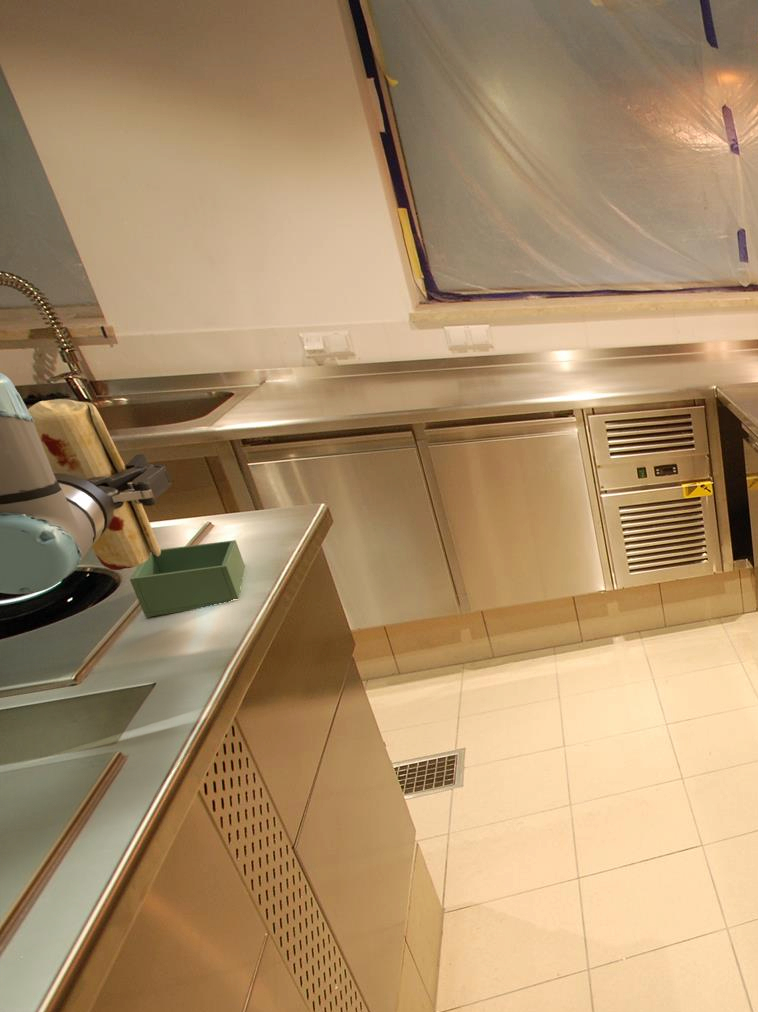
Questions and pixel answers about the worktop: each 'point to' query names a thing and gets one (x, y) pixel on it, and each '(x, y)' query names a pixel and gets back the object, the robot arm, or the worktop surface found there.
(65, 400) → the food model
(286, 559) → the worktop surface
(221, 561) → the bin
